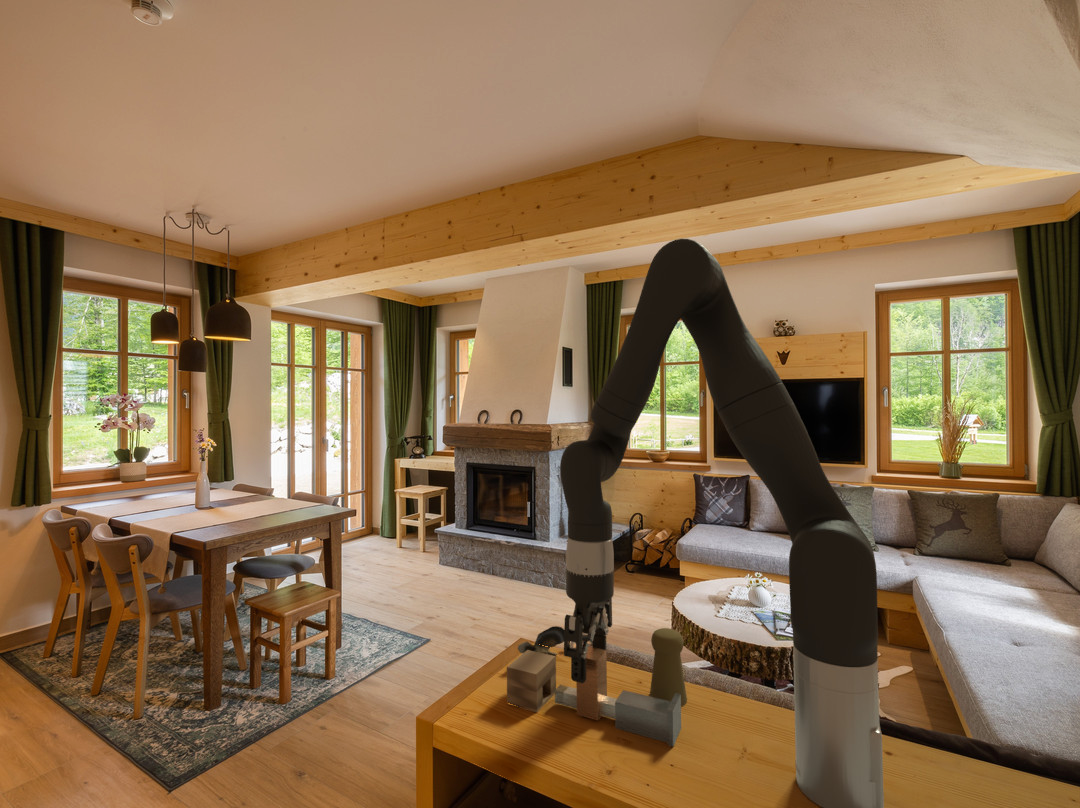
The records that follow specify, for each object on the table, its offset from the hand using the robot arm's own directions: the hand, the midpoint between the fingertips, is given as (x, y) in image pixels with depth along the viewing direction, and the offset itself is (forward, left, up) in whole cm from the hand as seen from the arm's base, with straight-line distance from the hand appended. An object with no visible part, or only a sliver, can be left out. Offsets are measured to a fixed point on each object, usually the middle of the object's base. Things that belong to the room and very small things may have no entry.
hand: (589, 669), depth 83 cm
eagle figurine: (+14, -12, -7) cm, 20 cm away
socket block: (+10, 0, -7) cm, 13 cm away
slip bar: (-3, 0, -6) cm, 7 cm away
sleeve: (-9, 0, -7) cm, 11 cm away
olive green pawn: (-10, -10, -7) cm, 16 cm away
